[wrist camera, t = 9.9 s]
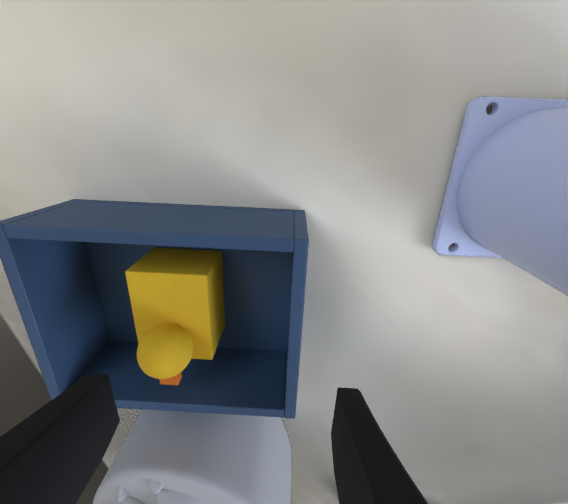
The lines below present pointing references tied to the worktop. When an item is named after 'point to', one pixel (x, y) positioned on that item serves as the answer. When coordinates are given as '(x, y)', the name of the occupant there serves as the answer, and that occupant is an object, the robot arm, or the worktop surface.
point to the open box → (118, 311)
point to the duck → (176, 309)
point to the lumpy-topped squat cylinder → (200, 461)
